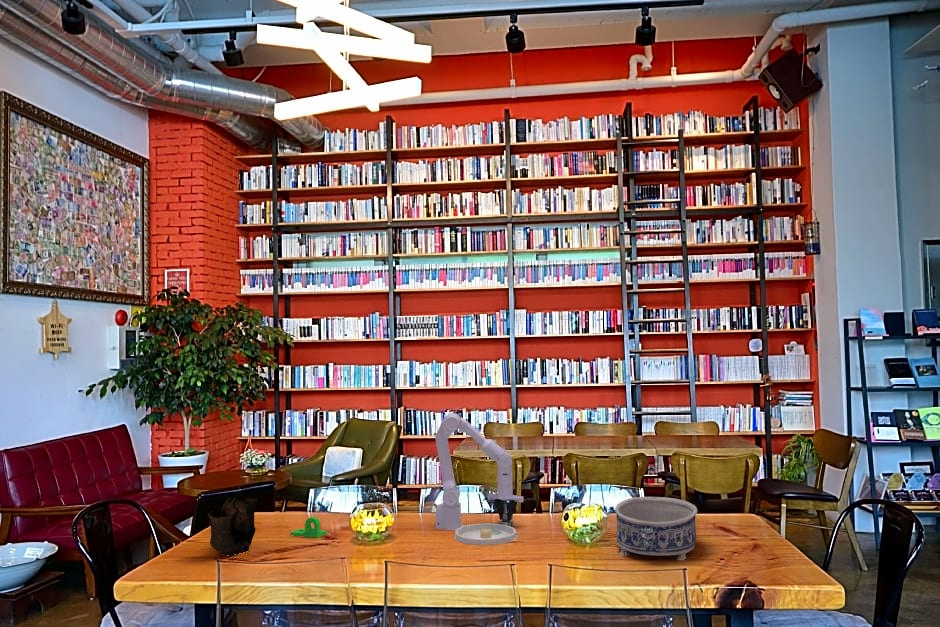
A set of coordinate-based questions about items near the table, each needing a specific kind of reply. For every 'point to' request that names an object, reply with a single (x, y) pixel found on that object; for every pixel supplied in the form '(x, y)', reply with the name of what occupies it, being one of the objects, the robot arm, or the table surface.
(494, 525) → the carrier
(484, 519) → the table surface
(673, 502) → the decorative bowl
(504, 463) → the robot arm
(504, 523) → the planet gear
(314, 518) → the mechanical part
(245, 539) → the pottery vessel
